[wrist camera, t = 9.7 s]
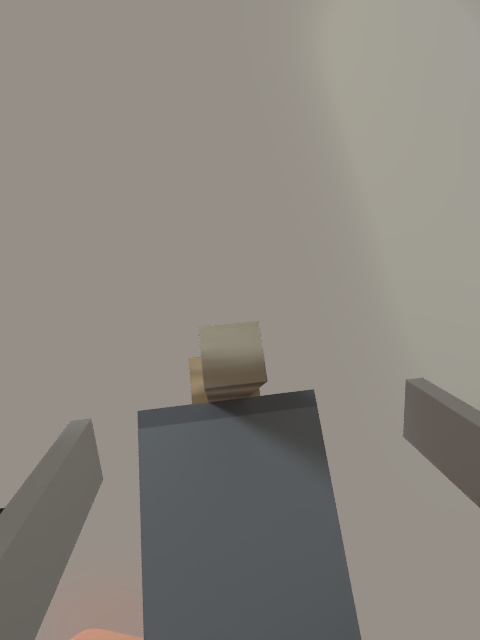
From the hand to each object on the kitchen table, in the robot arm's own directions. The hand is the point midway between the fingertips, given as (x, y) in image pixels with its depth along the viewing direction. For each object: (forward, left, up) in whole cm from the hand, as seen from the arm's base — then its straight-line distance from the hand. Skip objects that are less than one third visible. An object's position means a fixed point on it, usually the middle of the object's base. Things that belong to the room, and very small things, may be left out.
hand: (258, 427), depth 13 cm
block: (0, +16, +2) cm, 16 cm away
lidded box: (0, +22, -30) cm, 37 cm away
